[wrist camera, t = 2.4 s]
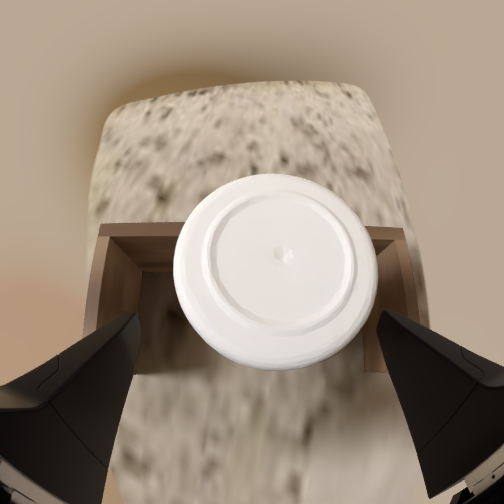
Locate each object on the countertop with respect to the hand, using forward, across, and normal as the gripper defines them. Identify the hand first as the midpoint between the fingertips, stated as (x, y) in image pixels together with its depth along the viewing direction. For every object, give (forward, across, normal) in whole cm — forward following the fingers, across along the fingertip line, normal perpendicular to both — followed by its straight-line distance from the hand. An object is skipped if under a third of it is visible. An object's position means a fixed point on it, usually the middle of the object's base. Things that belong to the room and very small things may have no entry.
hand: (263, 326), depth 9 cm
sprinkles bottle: (+7, 0, +6) cm, 9 cm away
